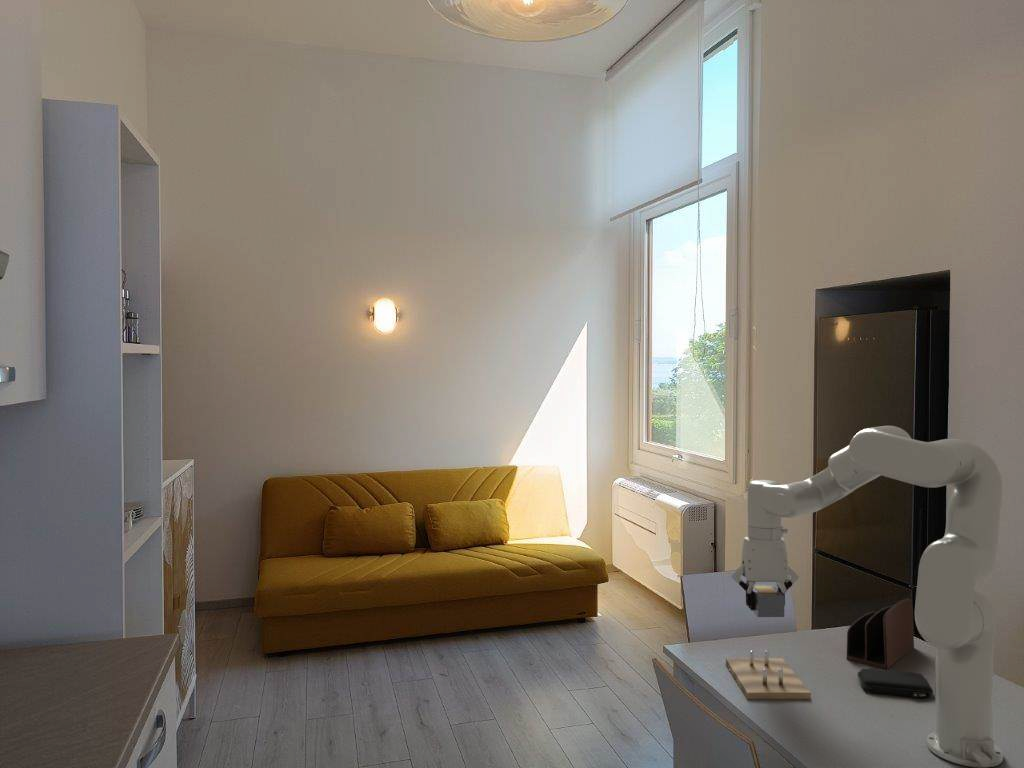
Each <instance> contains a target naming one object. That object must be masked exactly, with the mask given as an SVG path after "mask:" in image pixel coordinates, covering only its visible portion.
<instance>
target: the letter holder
mask: <svg viewBox="0 0 1024 768" xmlns="http://www.w3.org/2000/svg"><path fill="white" fill-rule="evenodd" d="M914 637H915V635H914V609H913V600H912V599H911V598H910V597H909V598H905V599H902V600H900V601H897V603H895V604H893V605H890V606H886V607H883V608H881V609H880V610H878V611H870V612H868V613H866V614H864V615H862V616H860V617H859V618H858V619H857V620H855V621H854V622H853V623H852V624H851V625H850V626H849V627H848V629H847V632H846V660H848V659H849V661H852V660H853V661H852V662H856V661H857V662H856V663H860V662H861V663H860V664H864V665H867V664H868V665H869V666H872V667H876V668H881V669H882V670H889V668H890V667H891V666H893V665H894V664H895V663H896V662H898V661H900V660H901V658H903V657H904V656H905V655H907V654H908V653H909V652H911V651H912V650H913V649H914V648H915V640H914V639H915V638H914Z"/></svg>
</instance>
